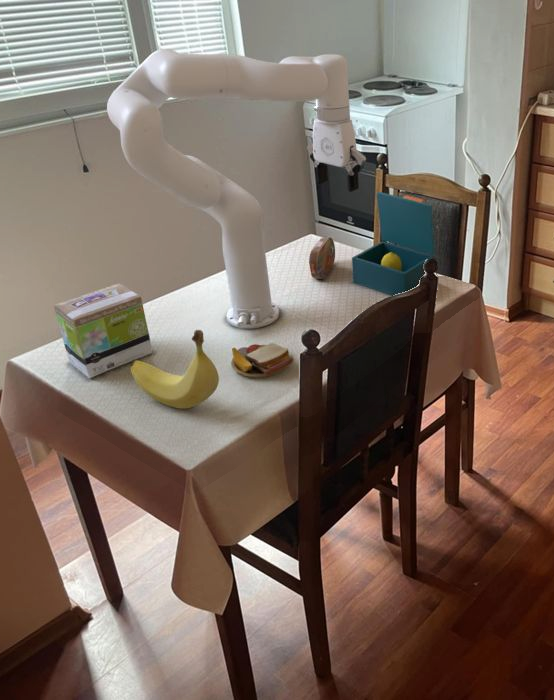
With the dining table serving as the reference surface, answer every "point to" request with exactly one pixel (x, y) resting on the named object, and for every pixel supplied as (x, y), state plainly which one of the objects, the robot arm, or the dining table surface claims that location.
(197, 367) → the banana
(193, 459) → the dining table surface
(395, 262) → the lemon
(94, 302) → the tea box
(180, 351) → the dining table surface
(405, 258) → the box
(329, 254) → the tin
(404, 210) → the lunchbox lid
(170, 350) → the dining table surface
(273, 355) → the toy sandwich meal
